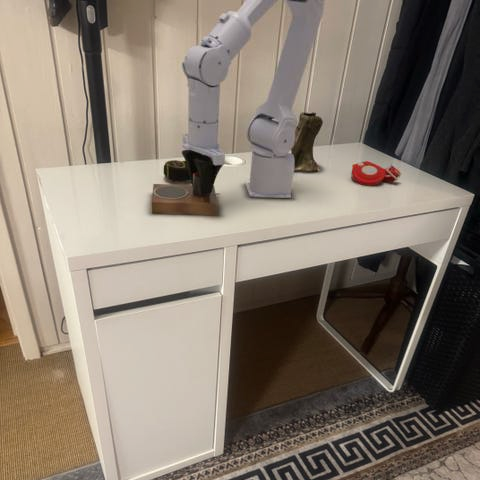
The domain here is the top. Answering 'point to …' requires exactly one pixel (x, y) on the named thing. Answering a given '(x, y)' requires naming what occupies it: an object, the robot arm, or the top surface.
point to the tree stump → (306, 141)
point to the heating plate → (170, 192)
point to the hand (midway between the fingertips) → (201, 189)
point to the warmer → (185, 203)
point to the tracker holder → (373, 173)
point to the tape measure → (176, 171)
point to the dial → (197, 186)
